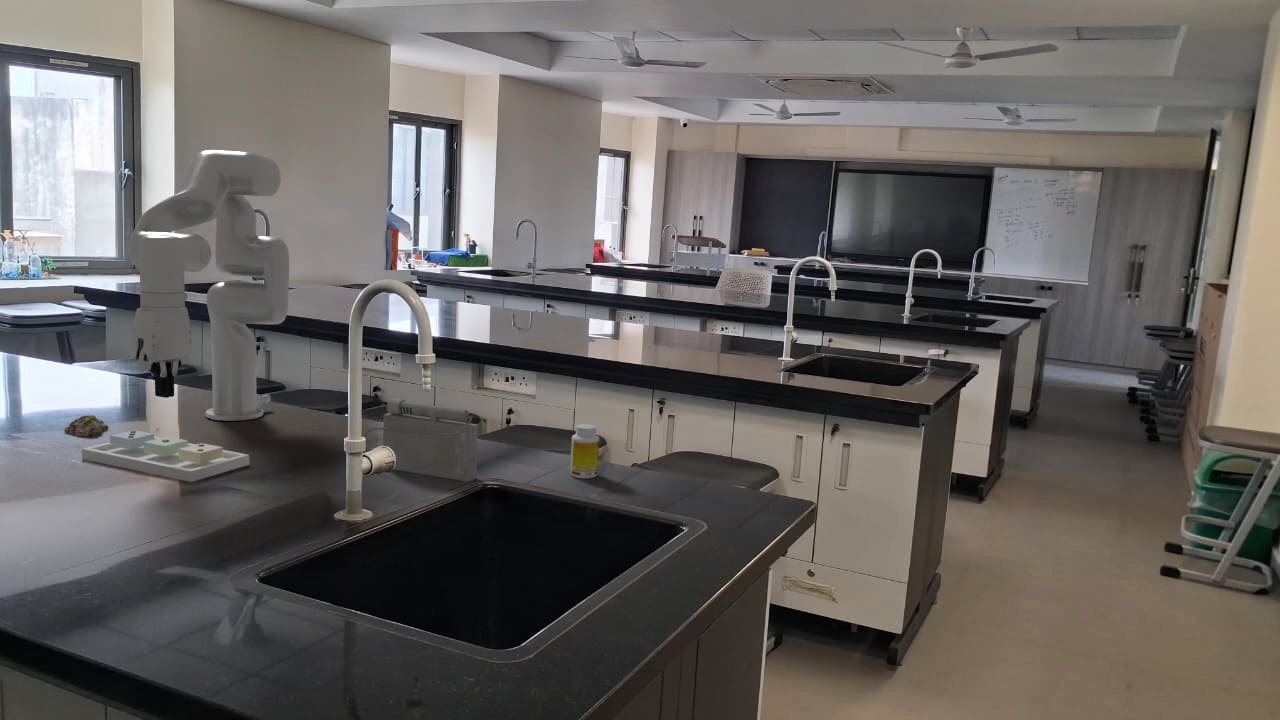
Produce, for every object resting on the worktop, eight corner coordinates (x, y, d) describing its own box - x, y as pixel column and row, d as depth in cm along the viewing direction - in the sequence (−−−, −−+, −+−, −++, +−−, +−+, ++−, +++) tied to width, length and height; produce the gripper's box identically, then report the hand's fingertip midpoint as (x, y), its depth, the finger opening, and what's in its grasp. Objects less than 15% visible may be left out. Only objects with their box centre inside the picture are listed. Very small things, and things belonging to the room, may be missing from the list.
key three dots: (134, 439, 190) (134, 429, 190) (154, 443, 189) (153, 433, 188) (110, 445, 186) (110, 434, 185) (130, 449, 184) (130, 438, 183)
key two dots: (201, 453, 184) (201, 442, 184) (222, 457, 182) (222, 446, 182) (178, 459, 179) (178, 448, 179) (200, 463, 177) (200, 452, 177)
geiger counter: (482, 407, 184) (372, 392, 192) (466, 413, 178) (353, 397, 186) (480, 477, 186) (371, 459, 194) (463, 485, 180) (352, 466, 188)
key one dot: (167, 446, 187) (167, 435, 187) (187, 450, 185) (187, 439, 185) (143, 452, 182) (143, 441, 182) (164, 456, 180) (164, 445, 180)
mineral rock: (57, 419, 203) (98, 406, 208) (64, 437, 205) (104, 424, 209) (67, 431, 195) (109, 418, 200) (74, 450, 197) (116, 436, 201)
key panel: (144, 443, 196) (144, 434, 195) (249, 464, 185) (249, 454, 185) (82, 458, 183) (81, 448, 182) (190, 482, 172) (190, 471, 172)
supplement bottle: (601, 479, 190) (603, 429, 188) (574, 480, 188) (576, 429, 186) (592, 471, 195) (595, 422, 193) (566, 472, 193) (568, 423, 191)
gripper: (180, 296, 187) (182, 388, 190) (113, 301, 174) (116, 400, 176) (209, 300, 185) (210, 392, 187) (143, 305, 171) (145, 405, 174)
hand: (164, 396), depth 182 cm, fingers closed
